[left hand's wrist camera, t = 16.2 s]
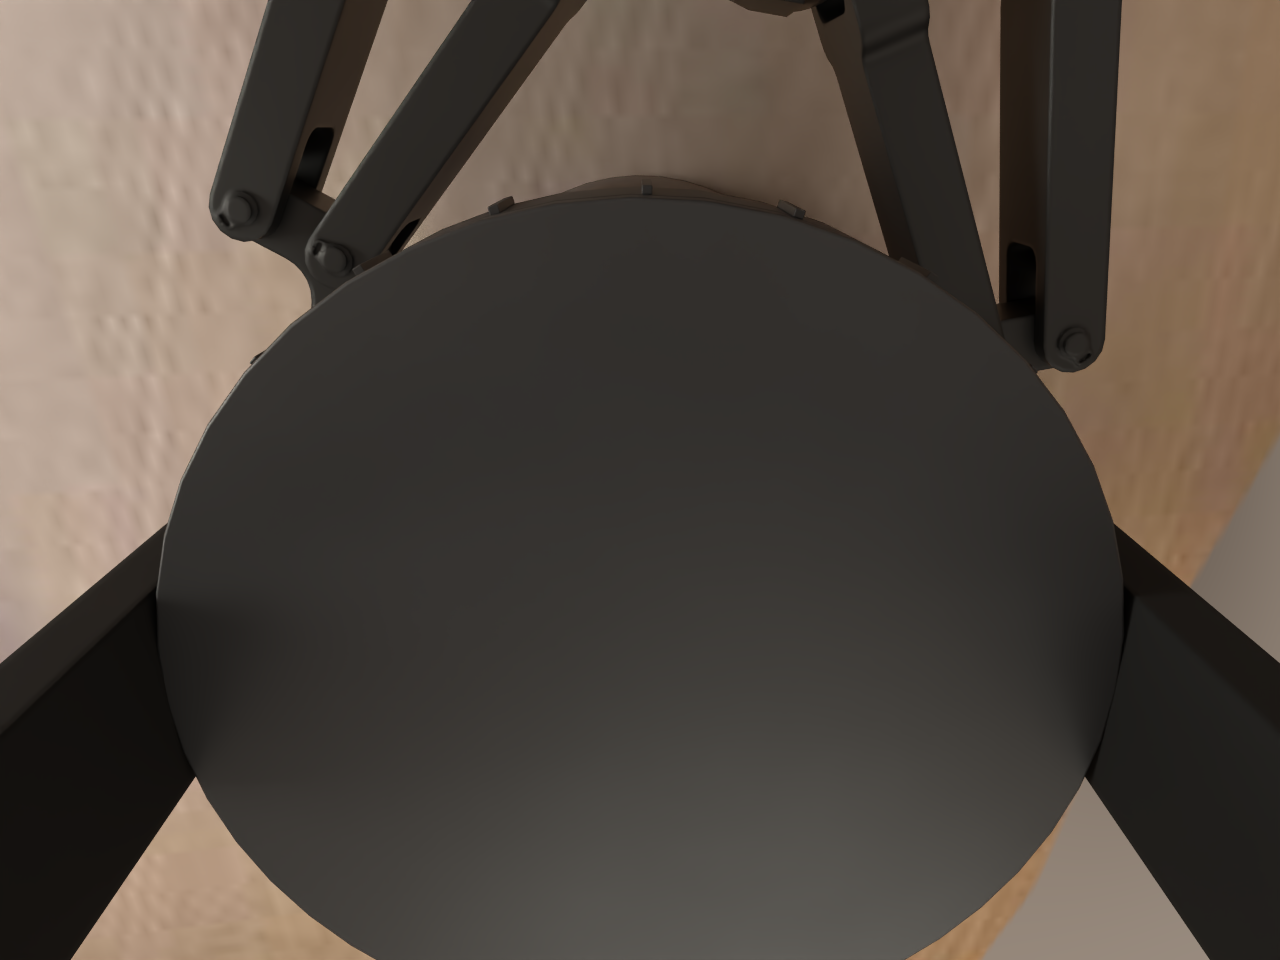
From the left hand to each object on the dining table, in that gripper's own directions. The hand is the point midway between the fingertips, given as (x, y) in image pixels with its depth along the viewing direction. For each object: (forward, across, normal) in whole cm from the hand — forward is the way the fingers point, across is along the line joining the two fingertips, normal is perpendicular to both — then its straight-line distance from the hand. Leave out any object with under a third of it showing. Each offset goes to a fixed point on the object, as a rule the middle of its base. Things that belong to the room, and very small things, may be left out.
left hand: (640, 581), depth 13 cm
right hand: (+7, -1, -4) cm, 8 cm away
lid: (-3, 0, 0) cm, 3 cm away
